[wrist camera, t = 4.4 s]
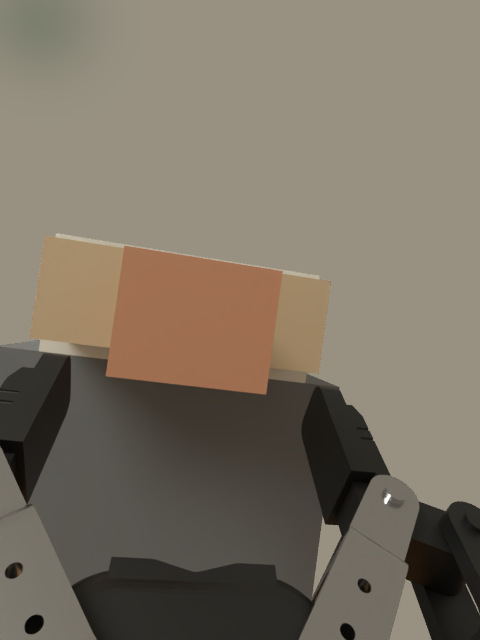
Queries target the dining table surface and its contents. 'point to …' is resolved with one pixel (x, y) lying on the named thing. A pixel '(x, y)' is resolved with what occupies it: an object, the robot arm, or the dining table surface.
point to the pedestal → (177, 474)
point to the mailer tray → (96, 298)
